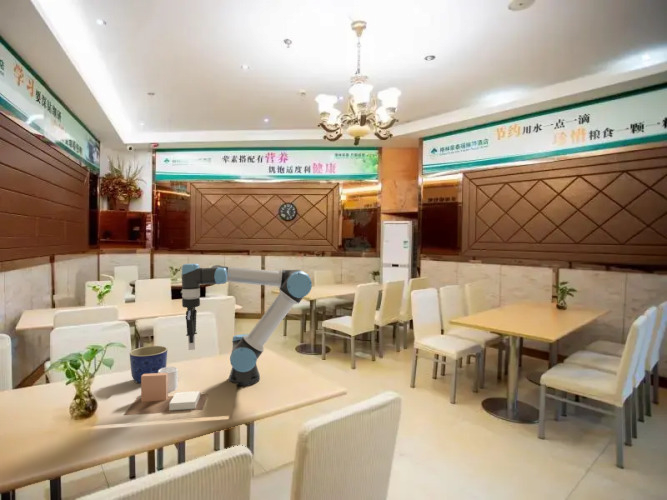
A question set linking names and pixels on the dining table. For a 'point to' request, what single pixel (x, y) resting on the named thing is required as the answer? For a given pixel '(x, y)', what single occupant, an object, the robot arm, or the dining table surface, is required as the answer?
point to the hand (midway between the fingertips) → (192, 349)
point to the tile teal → (184, 400)
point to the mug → (171, 377)
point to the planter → (147, 361)
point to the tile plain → (154, 387)
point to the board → (159, 406)
